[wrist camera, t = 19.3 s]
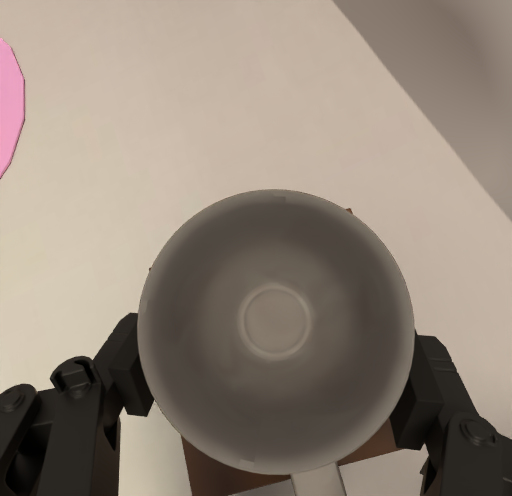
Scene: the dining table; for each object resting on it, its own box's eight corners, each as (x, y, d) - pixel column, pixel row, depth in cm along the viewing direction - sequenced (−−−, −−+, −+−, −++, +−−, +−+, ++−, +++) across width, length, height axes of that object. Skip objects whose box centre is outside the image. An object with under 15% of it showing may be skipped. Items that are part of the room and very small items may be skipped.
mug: (191, 271, 20) (114, 224, 11) (322, 235, 20) (360, 156, 11) (235, 478, 17) (182, 666, 8) (389, 436, 17) (526, 573, 8)
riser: (337, 232, 26) (350, 207, 20) (400, 409, 22) (439, 440, 17) (179, 279, 26) (148, 267, 21) (218, 458, 23) (193, 505, 17)
